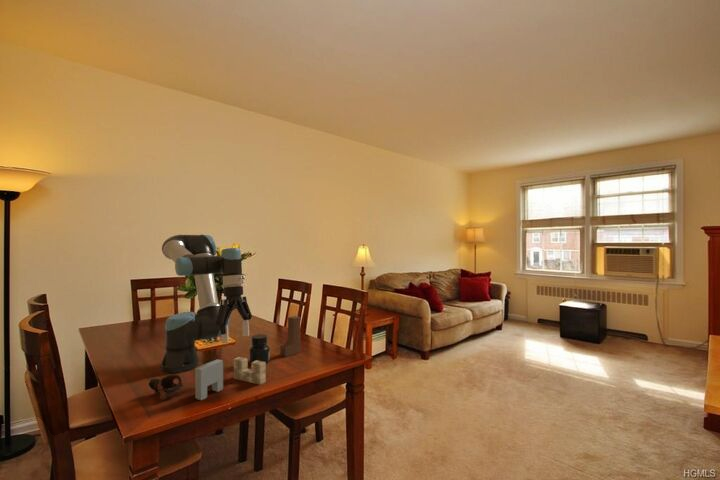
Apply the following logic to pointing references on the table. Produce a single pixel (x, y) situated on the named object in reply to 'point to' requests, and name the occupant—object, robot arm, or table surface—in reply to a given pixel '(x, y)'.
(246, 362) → the slotted board
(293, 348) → the wooden block
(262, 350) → the ink bottle
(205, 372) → the slotted plate
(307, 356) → the table surface
